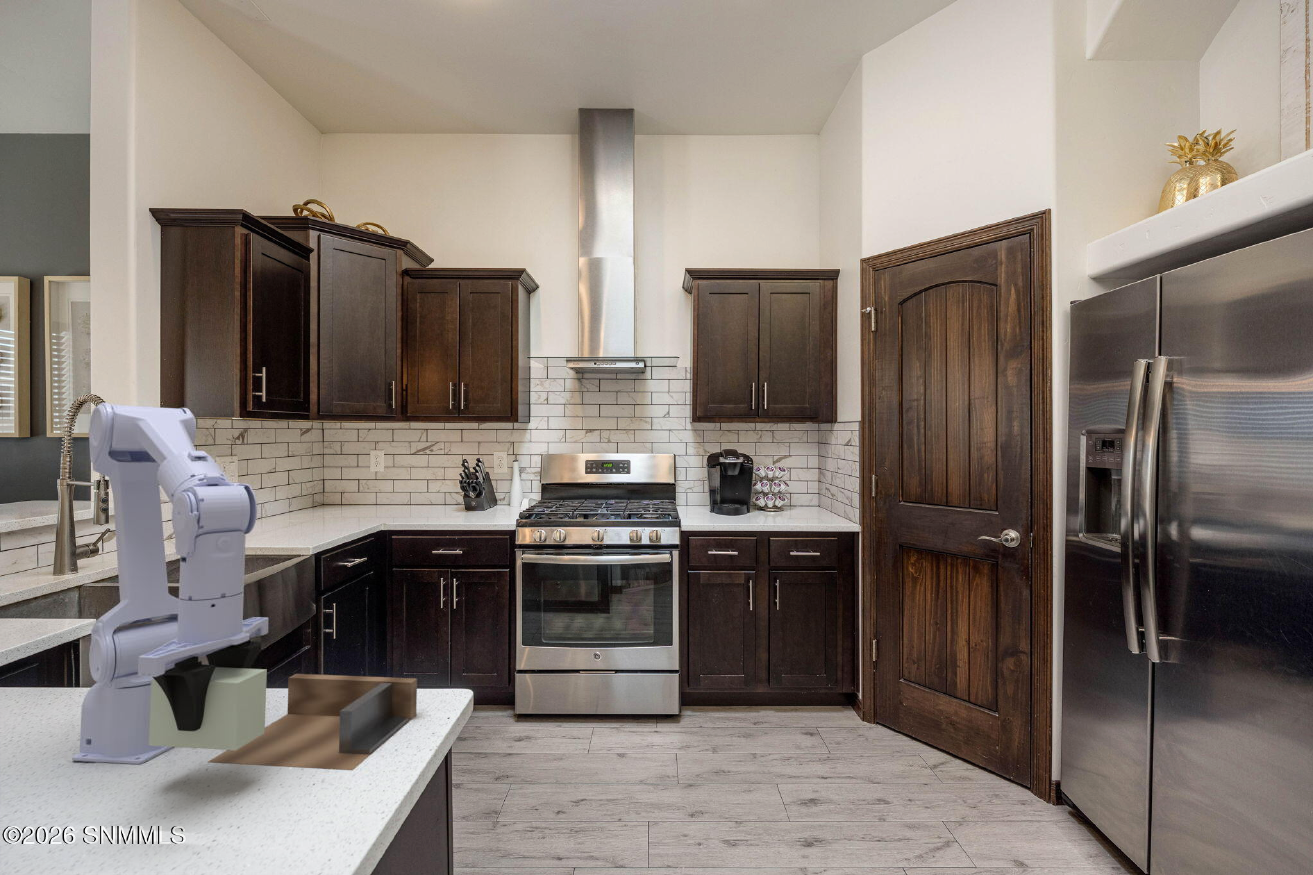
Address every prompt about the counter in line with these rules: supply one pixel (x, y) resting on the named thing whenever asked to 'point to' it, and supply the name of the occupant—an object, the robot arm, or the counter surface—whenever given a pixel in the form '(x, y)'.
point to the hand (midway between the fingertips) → (207, 719)
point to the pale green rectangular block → (215, 712)
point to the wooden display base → (318, 723)
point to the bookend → (368, 721)
